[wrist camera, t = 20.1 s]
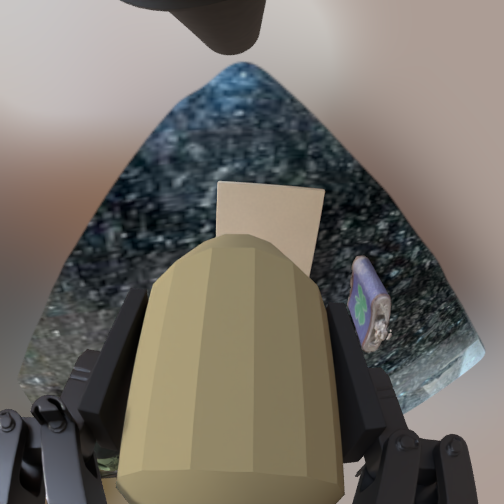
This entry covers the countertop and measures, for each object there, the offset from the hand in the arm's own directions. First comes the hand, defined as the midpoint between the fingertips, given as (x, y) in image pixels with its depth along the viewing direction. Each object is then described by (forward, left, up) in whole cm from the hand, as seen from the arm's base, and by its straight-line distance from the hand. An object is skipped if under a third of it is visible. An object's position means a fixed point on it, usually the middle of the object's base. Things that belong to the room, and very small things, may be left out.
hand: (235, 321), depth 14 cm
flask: (+14, +17, -24) cm, 32 cm away
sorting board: (+13, +3, -24) cm, 27 cm away
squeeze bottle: (0, 0, -3) cm, 3 cm away
